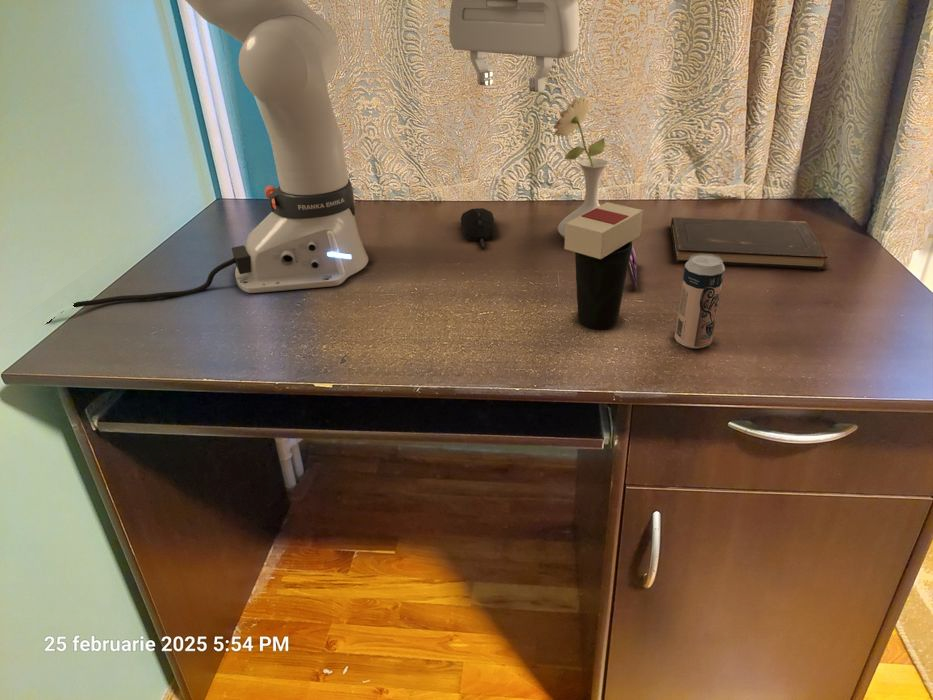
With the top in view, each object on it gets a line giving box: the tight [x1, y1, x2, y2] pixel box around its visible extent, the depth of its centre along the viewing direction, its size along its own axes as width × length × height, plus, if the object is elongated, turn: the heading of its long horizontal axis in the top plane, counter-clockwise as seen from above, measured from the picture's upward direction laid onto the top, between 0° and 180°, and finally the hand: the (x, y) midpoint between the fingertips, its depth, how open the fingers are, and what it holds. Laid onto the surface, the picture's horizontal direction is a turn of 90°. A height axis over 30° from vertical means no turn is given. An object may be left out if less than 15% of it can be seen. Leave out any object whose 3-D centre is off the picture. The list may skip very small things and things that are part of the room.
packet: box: [563, 201, 644, 259], centre depth 88 cm, size 10×6×4 cm, turn 138°
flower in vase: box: [553, 95, 609, 239], centre depth 115 cm, size 13×11×25 cm
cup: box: [574, 240, 634, 331], centre depth 92 cm, size 8×8×12 cm
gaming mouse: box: [460, 207, 496, 250], centre depth 124 cm, size 6×15×4 cm, turn 4°
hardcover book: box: [670, 216, 828, 270], centre depth 115 cm, size 16×23×2 cm
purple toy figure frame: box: [628, 245, 638, 291], centre depth 106 cm, size 7×5×9 cm
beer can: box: [674, 253, 726, 350], centre depth 86 cm, size 5×5×12 cm
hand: (510, 88), depth 94 cm, fingers open, 8 cm apart
